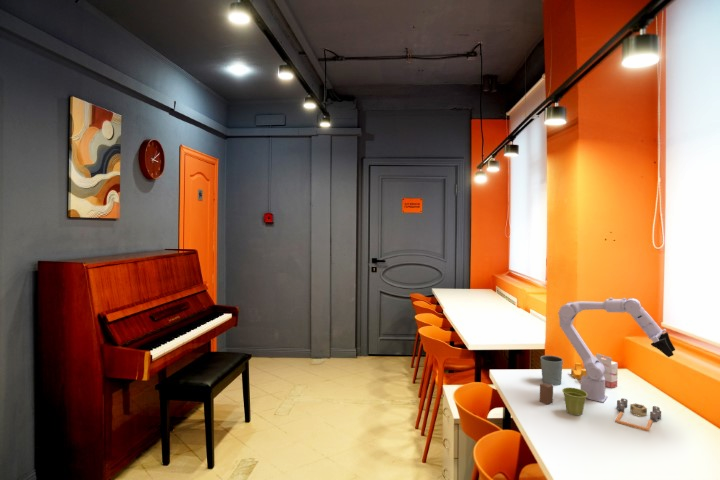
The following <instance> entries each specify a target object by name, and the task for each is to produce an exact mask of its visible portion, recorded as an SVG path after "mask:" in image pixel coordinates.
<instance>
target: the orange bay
mask: <svg viewBox="0 0 720 480" xmlns="http://www.w3.org/2000/svg"><path fill="white" fill-rule="evenodd" d="M623 415H624V413H623V412H618V414H617V416H616V417H615V421H614V422H615V423H616V422H617V423H618V424H621V425H624V426H628V427H631V428H636V429H638V430H641V431H645V432H650V429H651V427H652V424H653V422H654V421H653V420H650V418H649V420H648V421H647V424H646V427H645V426H642V425H638V424H634V423H630V422H628V421H623V420H621V419H622V417H623Z"/></svg>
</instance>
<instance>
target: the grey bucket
mask: <svg viewBox="0 0 720 480" xmlns="http://www.w3.org/2000/svg"><path fill="white" fill-rule="evenodd" d="M563 363H564V360H563V358H562V357H559V356H556V355H541V356H540V367H541V377H542V379H541V380H542V383H548V384H550V385H553V386H560V385H562V376H563V375H562V374H563V372H562V371H563Z"/></svg>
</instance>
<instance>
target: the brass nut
mask: <svg viewBox="0 0 720 480" xmlns="http://www.w3.org/2000/svg"><path fill="white" fill-rule="evenodd" d="M629 406H630V407H629V410H630V412H631V414H632V415H634V414H635V416H638V415H639V416H638V417H645V416H648V413H647V412H648V408H647V407H646V406H645V405H643V404H639V403H630V405H629Z"/></svg>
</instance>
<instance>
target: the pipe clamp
mask: <svg viewBox="0 0 720 480" xmlns="http://www.w3.org/2000/svg"><path fill="white" fill-rule="evenodd" d="M582 364H583V363H581V362H574V368H571V369H570V375H571V376H572V377H573V379H575V380H579V381H580V382H581V378H582V376H587V373H586V369H585V368H584V369H583V367H582V366H583V365H582Z"/></svg>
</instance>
